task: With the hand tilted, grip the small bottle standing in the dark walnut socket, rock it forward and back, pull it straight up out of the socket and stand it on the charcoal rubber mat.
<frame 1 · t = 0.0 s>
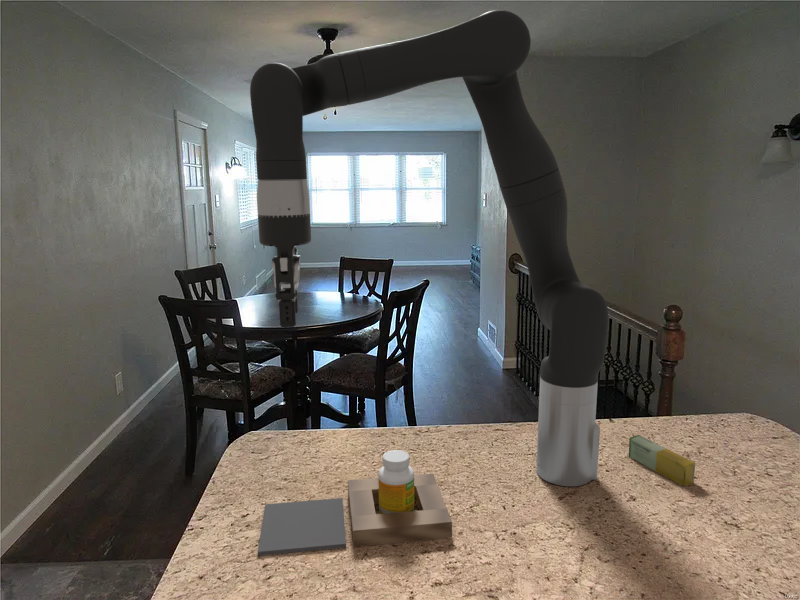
hand: (289, 319, 90), 29 cm above the countertop, tool pointing down, fingers open, 8 cm apart
walnut socket: (396, 514, 90), on the countertop
rubber mat: (303, 526, 87), on the countertop
medication box: (659, 471, 103), on the countertop
supplement bottle: (396, 515, 90), resting in walnut socket
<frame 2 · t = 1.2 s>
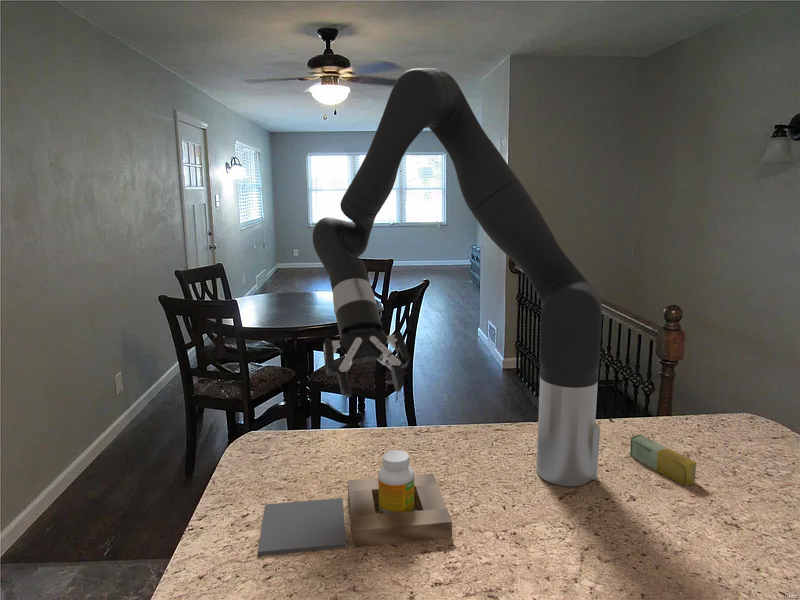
hand: (374, 392, 97), 16 cm above the countertop, tool tilted 45°, fingers open, 8 cm apart
nothing on the countertop moved.
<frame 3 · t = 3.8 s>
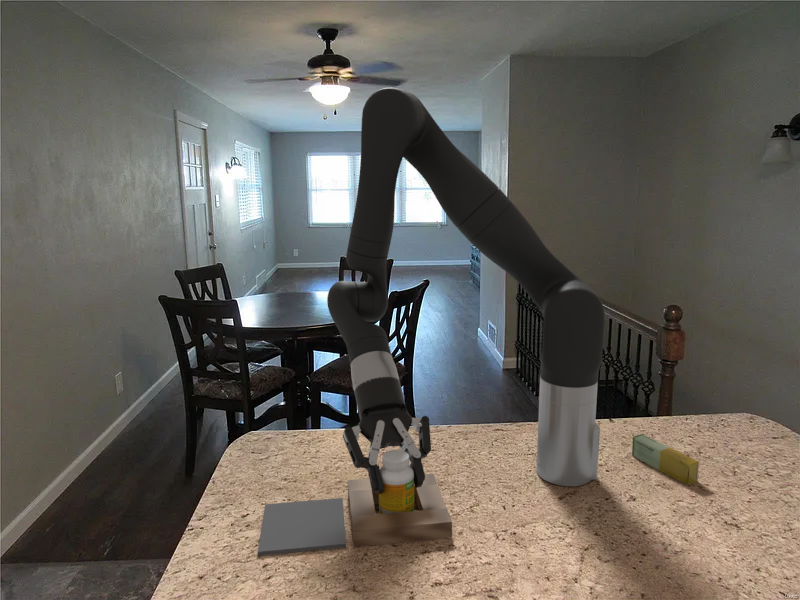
hand: (400, 488, 87), 5 cm above the countertop, tool tilted 45°, fingers closed on supplement bottle, 5 cm apart
supplement bottle: (396, 515, 90), resting in walnut socket, touching gripper
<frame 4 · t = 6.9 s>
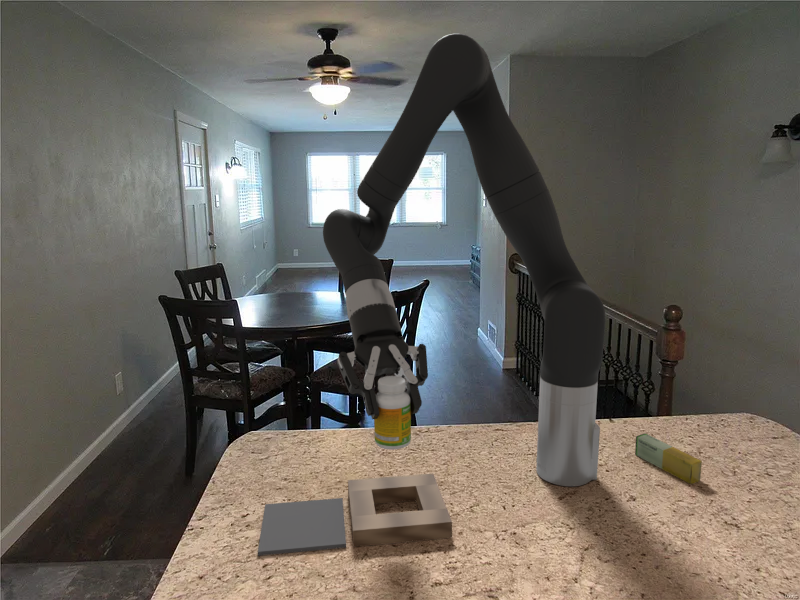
hand: (396, 413, 85), 17 cm above the countertop, tool tilted 45°, fingers closed on supplement bottle, 5 cm apart
supplement bottle: (392, 443, 88), point 12 cm above the countertop, touching gripper
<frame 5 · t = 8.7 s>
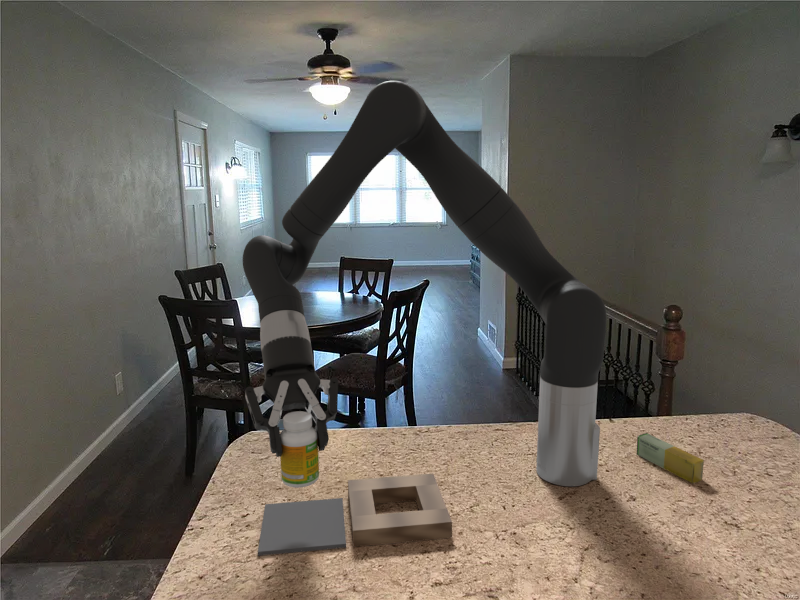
hand: (301, 451, 83), 13 cm above the countertop, tool tilted 45°, fingers closed on supplement bottle, 5 cm apart
supplement bottle: (300, 480, 86), point 7 cm above the countertop, touching gripper
when the fingers open (7 cm above the countertop, at t = 10.2 s): supplement bottle stays where it is, resting on rubber mat.
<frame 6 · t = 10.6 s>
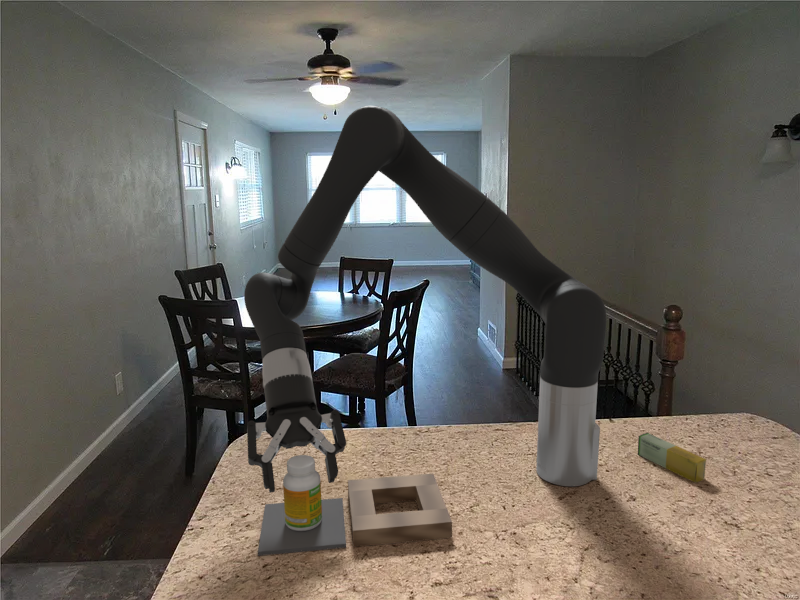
hand: (302, 486, 84), 7 cm above the countertop, tool tilted 45°, fingers open, 8 cm apart
supplement bottle: (303, 522, 87), resting on rubber mat
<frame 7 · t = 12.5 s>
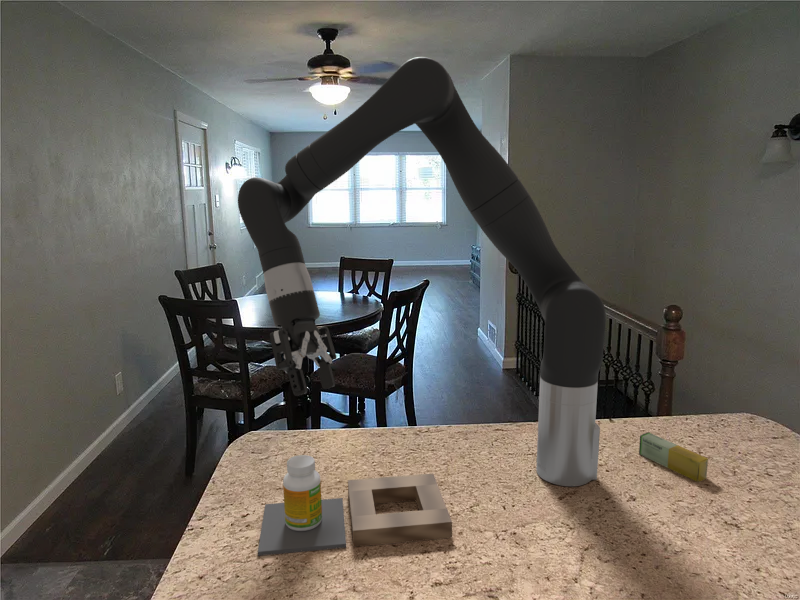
hand: (315, 391, 95), 17 cm above the countertop, tool tilted 25°, fingers open, 8 cm apart
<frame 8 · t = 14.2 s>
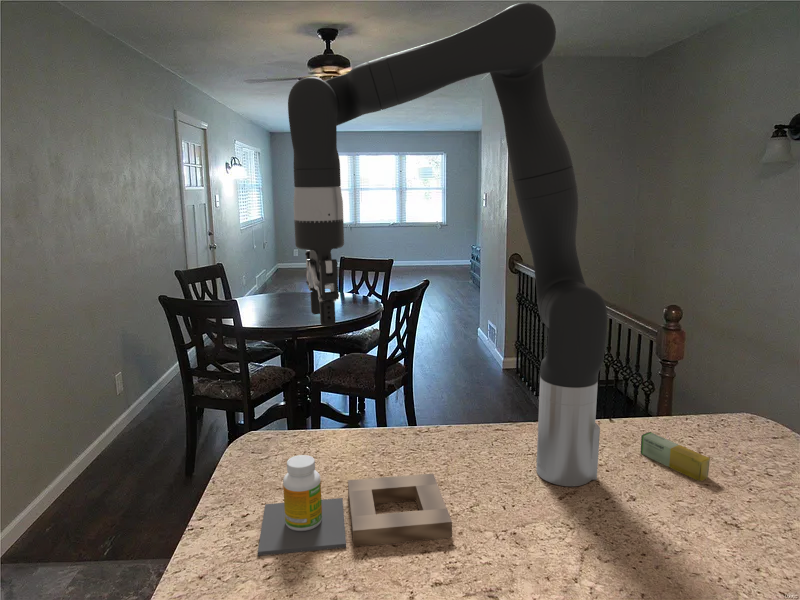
hand: (322, 319, 94), 28 cm above the countertop, tool pointing down, fingers open, 8 cm apart
at the end: supplement bottle 0.3 cm from the rubber mat (horizontally); supplement bottle tilted 0°; supplement bottle resting on rubber mat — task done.
